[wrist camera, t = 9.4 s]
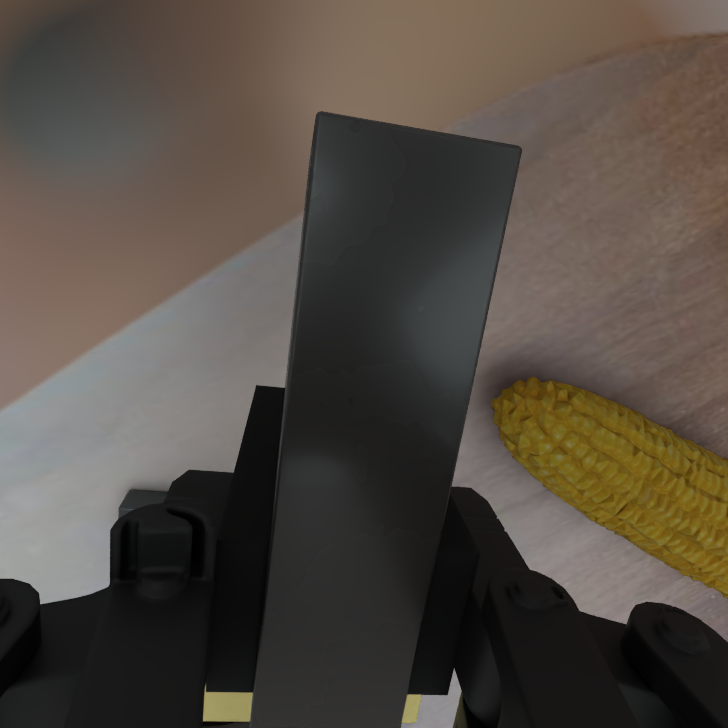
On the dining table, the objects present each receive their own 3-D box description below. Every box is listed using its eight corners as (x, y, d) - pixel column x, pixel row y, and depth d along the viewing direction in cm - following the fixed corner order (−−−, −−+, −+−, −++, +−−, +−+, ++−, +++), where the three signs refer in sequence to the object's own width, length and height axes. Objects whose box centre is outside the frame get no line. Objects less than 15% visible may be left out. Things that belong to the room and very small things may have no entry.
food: (826, 510, 28) (956, 588, 23) (759, 590, 29) (866, 683, 24) (506, 335, 23) (570, 378, 18) (441, 439, 25) (482, 512, 19)
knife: (309, 160, 12) (317, 108, 6) (409, 176, 13) (524, 145, 6) (234, 850, 19) (196, 1208, 12) (303, 848, 19) (303, 1196, 12)
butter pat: (209, 562, 24) (193, 622, 20) (277, 565, 24) (273, 625, 21) (203, 652, 25) (188, 721, 22) (267, 653, 25) (262, 722, 22)
